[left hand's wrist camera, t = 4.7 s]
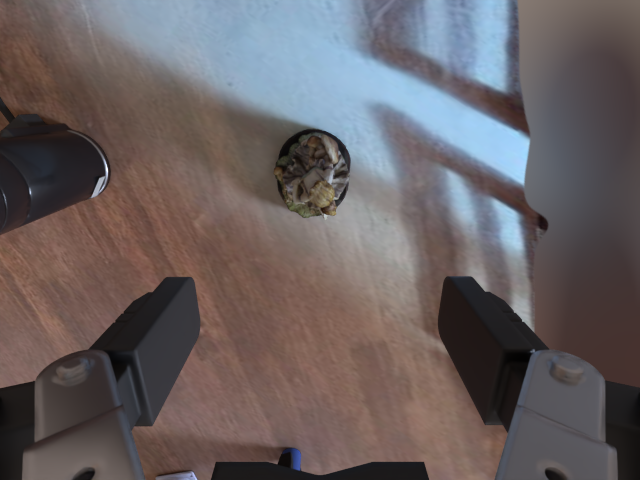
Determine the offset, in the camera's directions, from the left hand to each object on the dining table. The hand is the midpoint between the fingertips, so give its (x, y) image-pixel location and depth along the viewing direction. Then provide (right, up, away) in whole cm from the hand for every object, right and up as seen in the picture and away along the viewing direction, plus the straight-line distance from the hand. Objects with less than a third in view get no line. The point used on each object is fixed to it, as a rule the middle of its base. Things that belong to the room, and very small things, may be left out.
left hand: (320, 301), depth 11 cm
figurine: (-1, +11, +37) cm, 39 cm away
